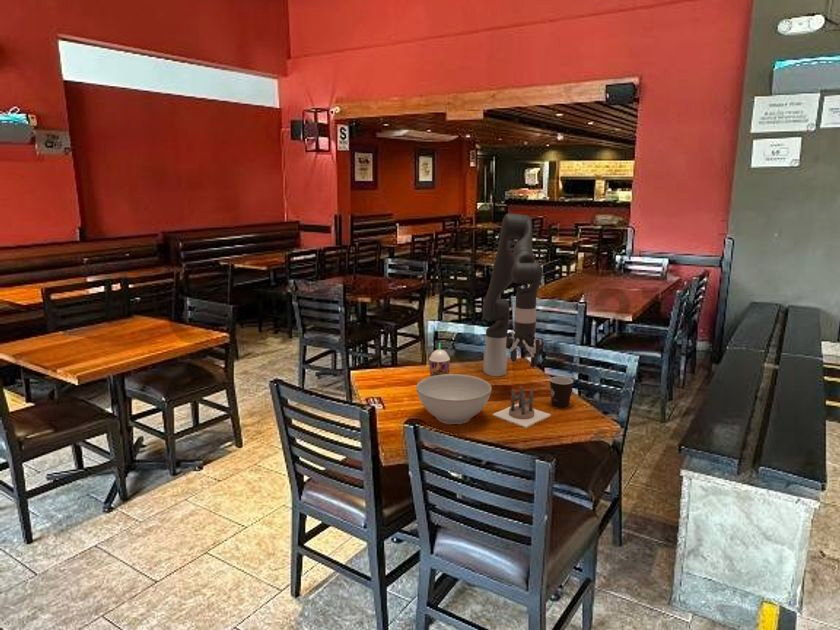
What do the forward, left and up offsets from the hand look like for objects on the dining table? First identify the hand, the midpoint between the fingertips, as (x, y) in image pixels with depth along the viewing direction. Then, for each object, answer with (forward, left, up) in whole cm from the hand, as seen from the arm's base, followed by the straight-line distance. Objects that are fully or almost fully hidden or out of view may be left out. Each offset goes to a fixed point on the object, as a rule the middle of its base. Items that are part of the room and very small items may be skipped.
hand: (523, 363), depth 212 cm
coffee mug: (+3, +20, -20) cm, 28 cm away
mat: (0, 0, -20) cm, 20 cm away
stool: (0, 0, -19) cm, 19 cm away
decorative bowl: (-16, -19, -20) cm, 32 cm away
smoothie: (-39, -3, -20) cm, 44 cm away
